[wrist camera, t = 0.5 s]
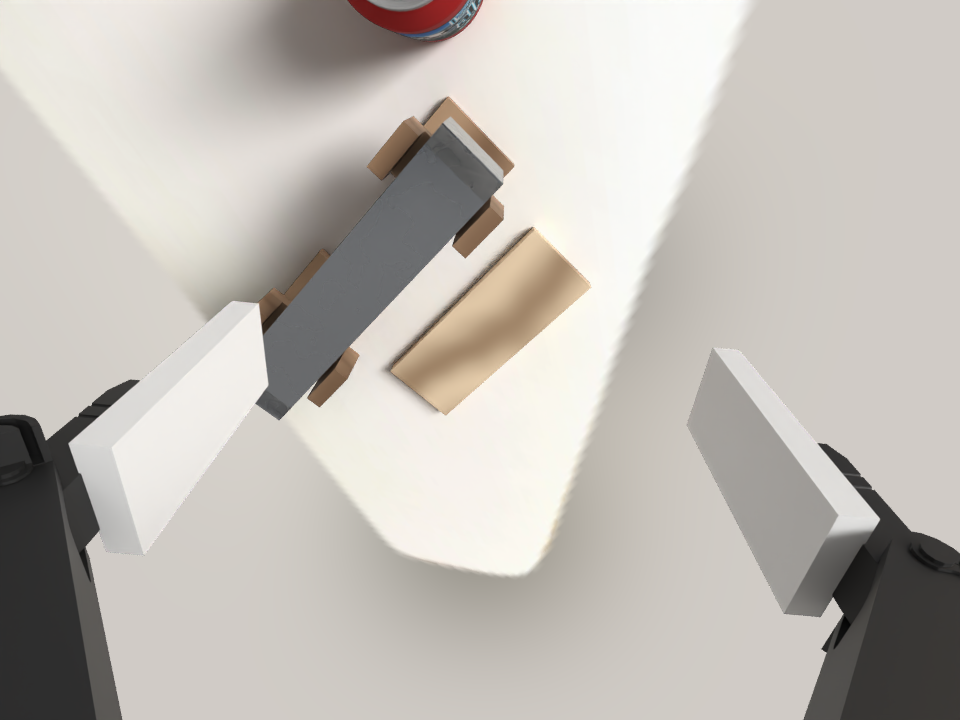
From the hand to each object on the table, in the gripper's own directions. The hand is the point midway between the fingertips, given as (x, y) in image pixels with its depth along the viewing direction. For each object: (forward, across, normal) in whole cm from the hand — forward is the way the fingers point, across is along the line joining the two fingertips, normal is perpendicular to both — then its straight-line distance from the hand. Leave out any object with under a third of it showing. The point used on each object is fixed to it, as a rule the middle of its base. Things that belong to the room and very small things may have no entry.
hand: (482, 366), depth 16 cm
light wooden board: (+25, 0, -10) cm, 27 cm away
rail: (+18, -7, -4) cm, 20 cm away
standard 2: (+25, -3, +2) cm, 25 cm away
